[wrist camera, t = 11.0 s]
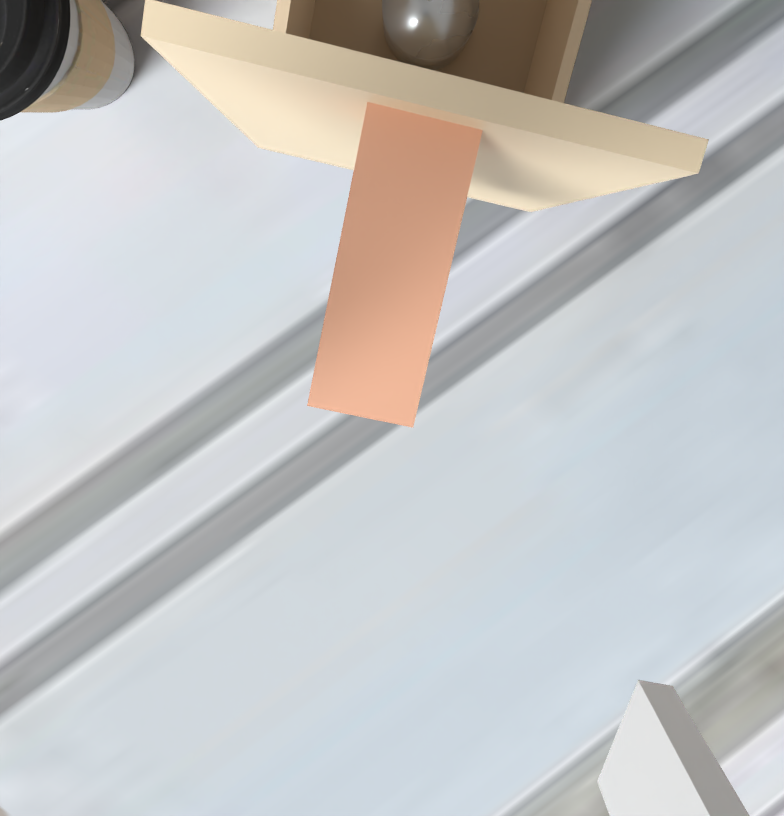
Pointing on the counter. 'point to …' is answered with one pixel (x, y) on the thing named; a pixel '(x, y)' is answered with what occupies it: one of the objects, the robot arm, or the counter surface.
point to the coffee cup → (61, 56)
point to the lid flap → (403, 176)
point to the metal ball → (428, 29)
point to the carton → (485, 49)
